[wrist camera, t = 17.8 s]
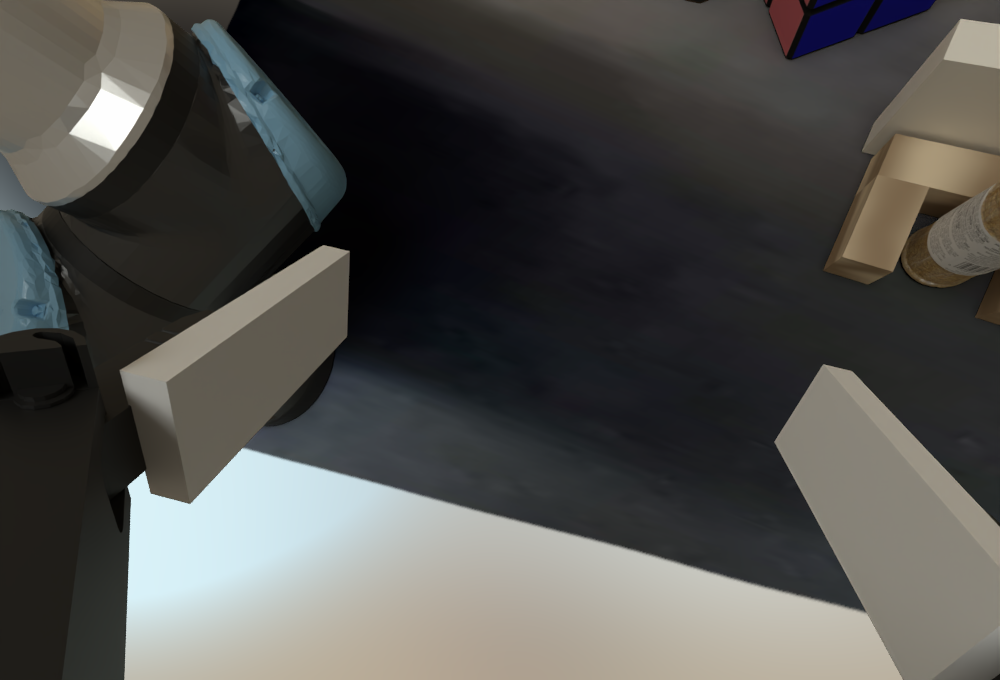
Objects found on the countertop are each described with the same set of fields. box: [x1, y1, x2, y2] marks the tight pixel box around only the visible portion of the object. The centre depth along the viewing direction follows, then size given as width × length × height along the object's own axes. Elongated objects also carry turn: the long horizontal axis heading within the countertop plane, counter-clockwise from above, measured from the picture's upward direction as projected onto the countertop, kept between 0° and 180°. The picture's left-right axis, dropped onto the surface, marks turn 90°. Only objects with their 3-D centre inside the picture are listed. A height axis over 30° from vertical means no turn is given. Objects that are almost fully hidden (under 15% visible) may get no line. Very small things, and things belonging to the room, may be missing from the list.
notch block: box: [823, 134, 1000, 325], centre depth 31 cm, size 12×9×4 cm
